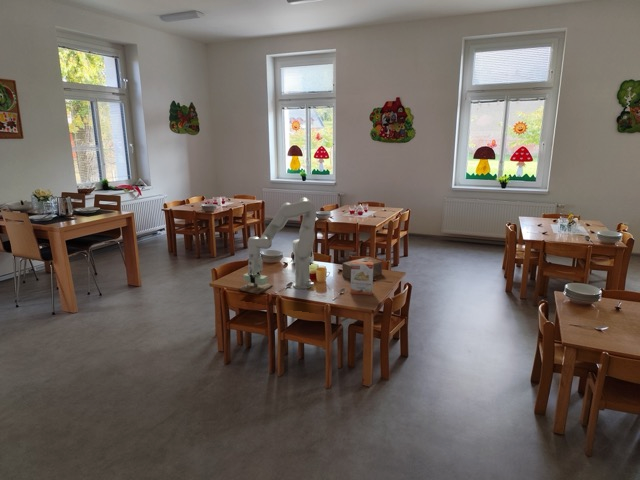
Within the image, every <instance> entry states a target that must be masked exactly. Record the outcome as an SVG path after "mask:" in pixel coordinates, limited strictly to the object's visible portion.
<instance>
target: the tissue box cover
mask: <svg viewBox="0 0 640 480" xmlns="http://www.w3.org/2000/svg"><path fill="white" fill-rule="evenodd" d="M352 261H361V262H374V264H373V277H376V276H375V275H377V276H380V275H382V273H383V261H381V260H379V259H376V258H374V257H371V256H366V257H362V258H358V259H357V258H356V259H353V260H349V261H345V262H342V268H341V269H342V277H345V278H346V279H349V280H351V263H352ZM379 274H380V275H379Z"/></svg>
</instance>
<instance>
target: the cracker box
mask: <svg viewBox="0 0 640 480" xmlns="http://www.w3.org/2000/svg"><path fill="white" fill-rule="evenodd" d="M351 261H352V263H351V279H350V291H349V293H350V294H352V295H353V294H354V295H363V296H364V295H366V296H372V295H373V285H374V283H373V282H374V276H373V264H374V262H361V261H353V260H351Z"/></svg>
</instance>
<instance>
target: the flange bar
mask: <svg viewBox="0 0 640 480" xmlns="http://www.w3.org/2000/svg"><path fill="white" fill-rule="evenodd" d="M252 275H253V274H252ZM254 277H255V284H259V285H264V284H269V281H268V280H269V279H268V277H269V276H268V275H262V274H260V275H258V274H257V273H256V274H254ZM242 279H243V282H247V283H251V281H250V276H249V275H248V272H247V273H244V274H243V275H242Z"/></svg>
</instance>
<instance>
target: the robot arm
mask: <svg viewBox="0 0 640 480" xmlns="http://www.w3.org/2000/svg"><path fill="white" fill-rule="evenodd" d="M299 216H302V221H301V225H300V228H299V232H298V233H299V238H298V239H299V241H298V242H297V243H296V244H295V263H294V266H295V267H294V269H295V273H294V274H295V277H294V278H295V282H294V283H292V286H293V287H294V289H298V290H306V289H307V290H308V289H310V288H311V287H314V286H315V281H314V282H313V281H312V280H311V279H310V265H311V264H310V261H309V256H310V254H311V251H312V247H313V248H314V242H315V239H316V233H315V225H316V224H315V223H316V220H317V209H316V206H315V205H314V203H313V201H312V200H310V199H309V198H307V197H301V198H299V200H298V202H293V203H290V202H284V203H283V204H282V205H281V206H280V208H279V209H278V211H277V212H276V214H275V215H274V217H273V219H272V220H271V221H270V223H269V224H268V225H267V227H266V228H265V230H264V232H263V233H262V234H261V236H260V237H259V236H256V235H255V236H254V235H253V236H250V237H248V239H247V241H248V242H247V243H248V247H247V248H248V264H247V265H248V266H247V267H248V268H247V269H248V270H247V273H248V275H249V276H250V281H251V283H255V277H254V274H258V275H262V271H263V268H264V267H263V260H262V256H261V250H262V249H263V250H268V249H270V248H271V247H272V245H273V242H272V240H273V239H274V237H275V236H276V235H277V233H278V232H279V231H280V230H283V228H284V227H285V225H286V224H287V222H288V221H289V220H290V218H295V217H299ZM252 274H253V275H252Z"/></svg>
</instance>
